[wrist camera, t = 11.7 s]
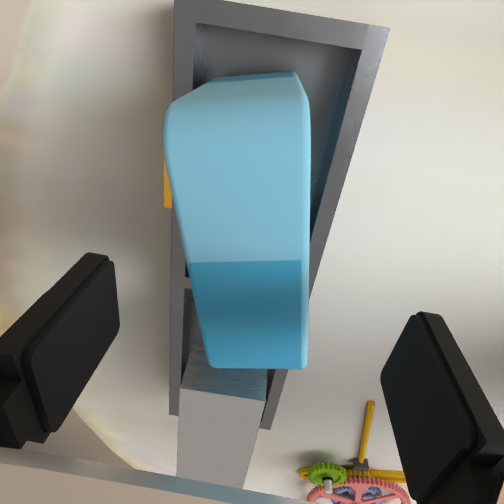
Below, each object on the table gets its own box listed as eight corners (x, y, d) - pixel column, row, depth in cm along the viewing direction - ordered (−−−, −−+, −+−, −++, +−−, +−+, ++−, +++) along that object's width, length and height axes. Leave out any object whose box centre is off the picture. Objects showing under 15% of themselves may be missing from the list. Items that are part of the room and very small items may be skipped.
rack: (371, 30, 19) (457, 20, 10) (271, 395, 36) (267, 514, 27) (182, -2, 19) (86, -42, 9) (173, 380, 36) (137, 494, 27)
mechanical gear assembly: (300, 517, 52) (399, 518, 51) (302, 552, 49) (409, 553, 48) (297, 397, 37) (439, 394, 36) (300, 434, 33) (458, 432, 32)
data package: (218, 74, 20) (150, 110, 10) (296, 68, 19) (312, 98, 9) (238, 249, 26) (210, 383, 16) (297, 248, 26) (307, 384, 15)
